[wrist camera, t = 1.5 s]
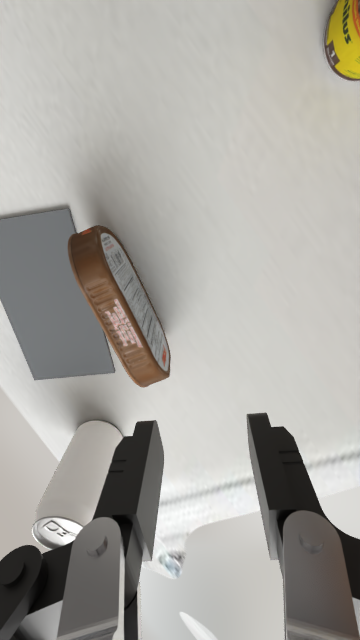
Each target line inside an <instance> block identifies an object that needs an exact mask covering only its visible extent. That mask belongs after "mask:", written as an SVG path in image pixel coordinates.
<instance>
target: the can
mask: <svg viewBox="0 0 360 640" xmlns="http://www.w3.org/2000/svg"><path fill="white" fill-rule="evenodd" d="M122 439H123V437H122V435H121V433H120V431H119V430H118V429H117V428H116V427H115V426H114V425H112V424H110V423H108V422H105V421H101V420H93V421H89V422H86V423H83V424H82V425H80V426H79V427H78V429H77V430H76V432H75V434H74V436H73V438H72V440H71V442H70V444H69V446H68V448H67V449H66V451H65V453H64V455H63V457H62V459H61V461H60V463H59V465H58V467H57V469H56V471H55V473H54V475H53V477H52V479H51V481H50V483H49V485H48V487H47V489H46V491H45V493H44V495H43V497H42V499H41V501H40V503H39V505H38V507H37V510H36V519H35V523H34V524H33V526H32V534H33V536H34V538H35V539H36V541H38V542H39V543H40V544H41V545H42V546H44V547H46V548H48V549H50V550H53V549H56V548H58V547H61V546H63V545H66V544H68V543H70V542H72V541H73V540H75V538H76V536H77V534H78V533H79V532H80V530H81V529H82V528H83V527H84V526H85V525H86V524H88V523H89V522H90V521H92V519H93V516H94V513H95V510H96V507H97V504H98V501H99V498H100V495H101V492H102V489H103V485H104V482H105V479H106V476H107V474H108V470H109V467H110V464H111V463H112V458H113V454H114V451H115V448H116V447H117V445H118V444H119V443H120V442H121V440H122Z"/></svg>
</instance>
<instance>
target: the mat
mask: <svg viewBox="0 0 360 640" xmlns="http://www.w3.org/2000/svg"><path fill="white" fill-rule="evenodd" d="M75 233H76V230H75V227H74V223H73V219H72V216H71V212H70V209H69V208H68V209H61V210H55V211H49V212H43V213H37V214H31V215H24V216H18V217H12V218H6V219H0V300H1V302H2V304H3V307H4V309H5V311H6V314H7V316H8V318H9V321H10V323H11V326H12V328H13V330H14V333H15V335H16V337H17V340H18V342H19V344H20V347H21V349H22V352H23V354H24V356H25V359H26V361H27V363H28V366H29V368H30V370H31V373H32V375H33V378H34V380H42V379H53V378H63V377H74V376H85V375H96V374H107V373H115V368H114V365H113V361H112V358H111V354H110V351H109V347H108V344H107V340H106V336H105V333H104V331H103V329H102V327H101V326H100V324H99V322H98V320H97V319H96V317H95V315H94V313H93V311H92V310H91V308H90V306H89V304H88V303H87V301H86V299H85V297H84V295H83V294H82V292H81V290H80V288H79V286H78V284H77V282H76V279H75V277H74V274H73V271H72V269H71V265H70V261H69V257H68V240H69V238H70V236H71V235H72V234H75Z"/></svg>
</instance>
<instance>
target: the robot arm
mask: <svg viewBox="0 0 360 640" xmlns="http://www.w3.org/2000/svg"><path fill="white" fill-rule="evenodd" d="M247 429H248V443H249V452H250V458H251V464H252V469H253V474H254V479H255V484H256V489H257V494H258V499H259V504H260V509H261V514H262V519H263V525H264V530H265V535H266V540H267V544H268V550H269V555H270V559H271V560H279V563H280V568H281V572H282V576H283V600H284V631H285V640H360V539H357V538H354V537H351V536H349V535H347V534H345V533H344V532H342V531H341V530H339V529H338V528H336V527H335V526H334V525H333V524H332V523H331V522H330V521H329V520H328V518H327V517H326V516H325V514H324V512H323V510H322V508H321V506H320V504H319V501H318V498H317V496H316V493H315V491H314V488H313V486H312V483H311V480H310V478H309V475H308V473H307V470H306V468H305V465H304V464H303V460H302V457H301V455H300V453H299V450H298V447H297V445H296V442H295V440H294V437H293V436H292V435H291V434H290V433H289V432H288V431H287V430H286V429H285V428H284V427H283V426H282V427H271V425H270V422H269V418H268V415H267V413H256V414H247ZM163 467H164V451H163V446H162V441H161V437H160V433H159V428H158V424H157V421H156V420H154V421H140V422H137V423H136V426H135V430H134V433H133V436H126V437H124V438H123V439H122V440H121V442H120V443H119V444H118V445H117V447H116V448H115V451H114V454H113V458H112V463H111V464H110V467H109V470H108V474H107V476H106V479H105V482H104V485H103V489H102V492H101V495H100V498H99V501H98V504H97V507H96V510H95V513H94V516H93V519H92V521H90V522H89V523H88V524H86V525H85V526H84V527H83V528H82V529H81V530H80V532H79V533H78V534H77V536H76V538H75V540H73V541H72V542H70V543H68V544H66V545H63V546H61V547H58V548H56V549H53V550H50V551H48V552H45V553H43V554H41V552H40V551H39V549H38V548H36V547H35V546H32V545H25V546H21V547H19V548H17V549H15V550H13V551H12V552H10V553H9V554H7V555H6V556H5V557H4V558H3V559H2V560H1V561H0V640H142V632H141V598H140V597H141V594H140V582H139V576H140V570H141V564H142V561H152V554H153V546H154V538H155V530H156V522H157V514H158V506H159V498H160V490H161V483H162V475H163Z"/></svg>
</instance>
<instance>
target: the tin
mask: <svg viewBox="0 0 360 640" xmlns="http://www.w3.org/2000/svg"><path fill="white" fill-rule="evenodd" d="M68 257H69V261H70V265H71V269H72V271H73V274H74V277H75V279H76V282H77V284H78V286H79V288H80V290H81V292H82V294H83V295H84V297H85V299H86V301H87V303H88V304H89V306H90V308H91V310H92V311H93V313H94V315H95V317H96V319H97V320H98V322H99V324H100V326H101V327H102V329H103V331H104V333H105V334H106V336H107V338H108V340H109V342H110V343H111V345H112V347H113V349H114V351H115V353H116V354H117V356H118V358H119V360H120V361H121V363H122V365H123V367H124V369H125V370H126V372H127V374H128V375H129V377H130V378H131V379H132V380H133V381H134V382H135V383H136V384H137V385H139V386H140V387H147V386H149V385H150V384H153V383H156V382H158V381H161V380H164V379H166V378H168V377H169V375H170V358H171V357H170V350H169V346H168V343H167V339H166V337H165V334H164V331H163V329H162V326H161V324H160V322H159V319H158V317H157V315H156V313H155V311H154V309H153V306H152V304H151V302H150V300H149V298H148V295H147V293H146V291H145V289H144V287H143V285H142V283H141V281H140V279H139V277H138V275H137V272H136V270H135V268H134V266H133V264H132V262H131V260H130V258H129V256H128V255H127V253H126V251H125V249H124V247H123V246H122V244H121V243H120V241H119V240H118V238H117V237H116V236H115V235H114V234H113V233H112V232H111V231H110V230H109V229H108V228H106V227H103V226H99V225H98V226H94V227H91V228H89V229H87V230H85V231H83V232H80V233H75V234H72V235H71V236H70V238H69V240H68Z"/></svg>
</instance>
